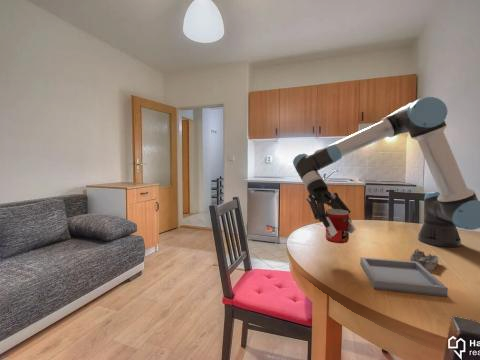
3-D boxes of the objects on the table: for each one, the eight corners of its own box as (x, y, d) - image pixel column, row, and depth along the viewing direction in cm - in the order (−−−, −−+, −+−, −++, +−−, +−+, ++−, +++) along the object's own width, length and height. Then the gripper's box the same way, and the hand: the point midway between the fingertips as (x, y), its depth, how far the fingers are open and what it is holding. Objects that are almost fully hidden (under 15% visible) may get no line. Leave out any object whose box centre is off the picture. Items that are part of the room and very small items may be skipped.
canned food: (347, 245, 84) (347, 213, 84) (323, 241, 89) (323, 211, 88) (350, 238, 91) (350, 209, 90) (328, 235, 95) (328, 208, 94)
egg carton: (416, 258, 94) (416, 247, 93) (441, 264, 88) (441, 253, 88) (406, 265, 87) (407, 254, 87) (433, 272, 81) (433, 260, 81)
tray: (417, 268, 84) (417, 261, 84) (447, 297, 66) (447, 288, 66) (360, 263, 88) (360, 257, 88) (374, 289, 71) (374, 280, 71)
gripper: (330, 188, 106) (359, 234, 92) (290, 191, 99) (315, 242, 85) (339, 177, 101) (372, 224, 87) (297, 179, 94) (325, 231, 80)
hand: (343, 233), depth 86 cm, fingers closed on canned food, 8 cm apart
